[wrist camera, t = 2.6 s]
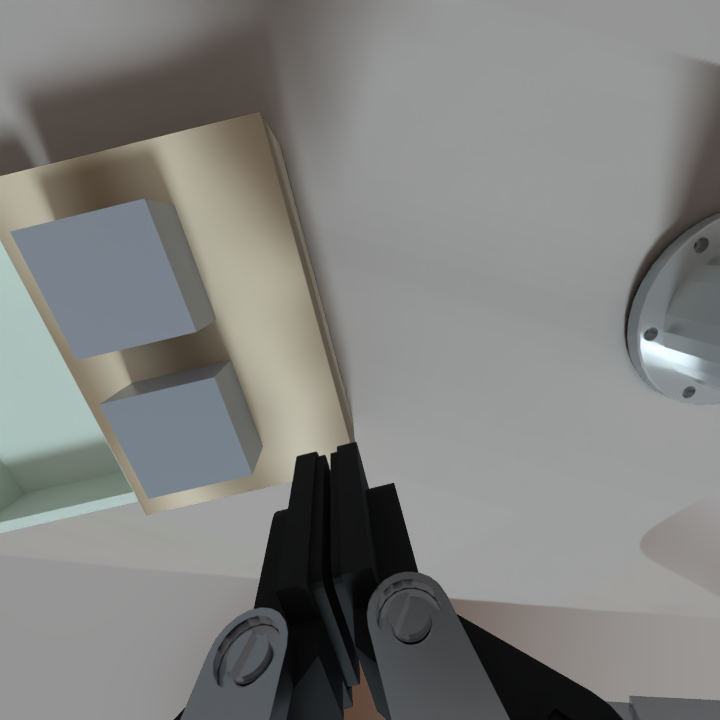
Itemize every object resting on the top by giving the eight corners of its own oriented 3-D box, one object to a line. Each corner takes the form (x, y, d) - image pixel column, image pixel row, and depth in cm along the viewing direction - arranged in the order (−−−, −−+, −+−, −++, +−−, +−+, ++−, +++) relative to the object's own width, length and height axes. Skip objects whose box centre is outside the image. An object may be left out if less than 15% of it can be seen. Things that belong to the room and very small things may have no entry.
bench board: (280, 145, 19) (259, 111, 14) (353, 422, 24) (356, 466, 19) (63, 199, 19) (-30, 183, 14) (184, 461, 24) (146, 514, 19)
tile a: (231, 359, 17) (214, 377, 15) (263, 446, 18) (252, 475, 16) (131, 382, 17) (99, 404, 15) (172, 467, 19) (148, 499, 16)
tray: (52, 201, 19) (-9, 192, 15) (175, 463, 24) (149, 498, 21) (-138, 248, 19) (-239, 249, 16) (26, 498, 24) (-23, 538, 21)
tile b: (174, 205, 15) (144, 198, 12) (216, 319, 16) (196, 332, 14) (60, 233, 15) (9, 231, 13) (113, 344, 16) (77, 360, 14)
